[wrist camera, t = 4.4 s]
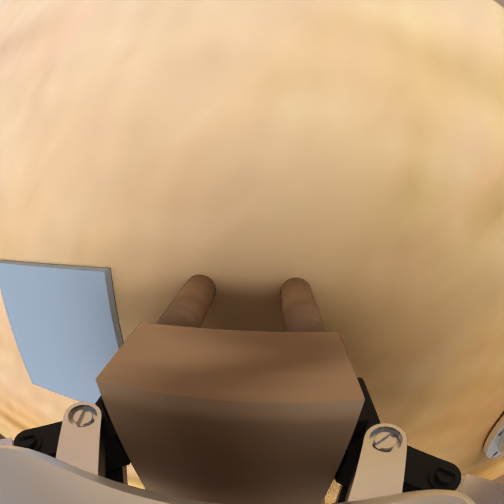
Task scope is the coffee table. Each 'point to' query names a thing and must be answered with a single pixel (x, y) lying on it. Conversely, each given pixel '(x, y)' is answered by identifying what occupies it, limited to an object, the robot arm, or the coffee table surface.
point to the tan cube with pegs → (234, 403)
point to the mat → (62, 324)
